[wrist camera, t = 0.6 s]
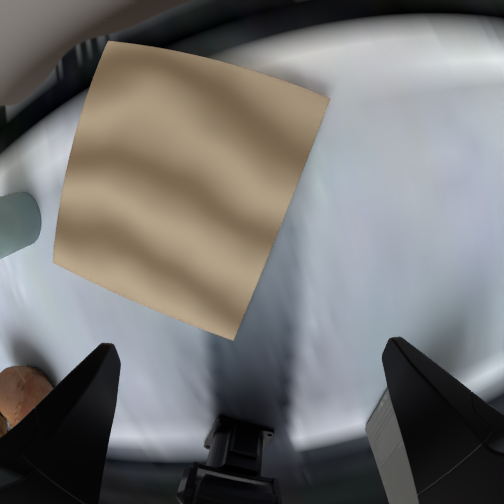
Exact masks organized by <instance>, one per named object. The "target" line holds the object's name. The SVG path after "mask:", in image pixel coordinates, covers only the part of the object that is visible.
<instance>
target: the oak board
mask: <svg viewBox="0 0 504 504" xmlns="http://www.w3.org/2000/svg"><path fill="white" fill-rule="evenodd" d="M329 101H330V98H328V97H325V96H323V95H320V94H318V93H315V92H313V91H310V90H308V89H305V88H302V87H300V86H297V85H294V84H292V83H289V82H286V81H283V80H280V79H278V78H275V77H272V76H269V75H266V74H262V73H259V72H256V71H253V70H250V69H246V68H243V67H239V66H236V65H232V64H229V63H225V62H221V61H217V60H213V59H209V58H205V57H201V56H197V55H192V54H188V53H183V52H178V51H173V50H168V49H162V48H157V47H151V46H144V45H137V44H130V43H122V42H114V41H108V42H107V45H106V47H105V49H104V52H103V54H102V57H101V59H100V62H99V64H98V67H97V69H96V72H95V75H94V77H93V80H92V83H91V86H90V88H89V91H88V94H87V97H86V100H85V103H84V106H83V110H82V113H81V116H80V119H79V123H78V126H77V130H76V133H75V137H74V141H73V145H72V149H71V153H70V157H69V161H68V166H67V170H66V175H65V180H64V185H63V190H62V195H61V201H60V207H59V213H58V220H57V227H56V235H55V243H54V253H53V263H55V264H57V265H59V266H61V267H63V268H64V269H66V270H68V271H70V272H72V273H74V274H76V275H78V276H81V277H83V278H85V279H87V280H89V281H91V282H93V283H95V284H97V285H99V286H101V287H104V288H106V289H108V290H110V291H112V292H114V293H117V294H119V295H121V296H123V297H125V298H128V299H130V300H132V301H134V302H137V303H139V304H141V305H144V306H146V307H148V308H151V309H153V310H155V311H158V312H160V313H163V314H165V315H168V316H170V317H172V318H175V319H177V320H180V321H182V322H185V323H187V324H190V325H193V326H195V327H198V328H200V329H203V330H206V331H208V332H211V333H214V334H216V335H219V336H222V337H225V338H227V339H230V340H233V341H234V338H235V336H236V333H237V331H238V329H239V326H240V324H241V321H242V319H243V317H244V314H245V312H246V309H247V307H248V305H249V302H250V300H251V297H252V295H253V292H254V290H255V288H256V285H257V283H258V280H259V278H260V275H261V273H262V271H263V268H264V266H265V263H266V261H267V258H268V256H269V253H270V251H271V248H272V246H273V243H274V241H275V238H276V236H277V234H278V231H279V229H280V226H281V224H282V221H283V219H284V216H285V214H286V211H287V209H288V206H289V204H290V201H291V199H292V196H293V194H294V191H295V188H296V186H297V183H298V181H299V178H300V176H301V173H302V171H303V168H304V166H305V163H306V160H307V158H308V155H309V153H310V150H311V148H312V145H313V143H314V140H315V137H316V135H317V132H318V130H319V127H320V124H321V122H322V119H323V117H324V114H325V111H326V109H327V106H328V104H329Z"/></svg>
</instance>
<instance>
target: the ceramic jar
mask: <svg viewBox="0 0 504 504" xmlns="http://www.w3.org/2000/svg"><path fill="white" fill-rule="evenodd" d="M40 231H41V215H40V211H39V207H38V205H37V203H36V201H35V200H34V198H33V197H32V196H31V195H30V194H29V193H27V192H23V191H21V192H16V193H12V194H8V195H4V196H0V259H1V258H4V257H6V256H8V255H10V254H12V253H14V252H16V251H18V250H20V249H22V248H25V247H27V246H29V245H31V244H33V243H34V242H35V241H36V240H37V239H38V237H39V234H40Z"/></svg>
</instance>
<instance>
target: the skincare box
mask: <svg viewBox="0 0 504 504" xmlns="http://www.w3.org/2000/svg"><path fill="white" fill-rule="evenodd" d="M365 430H366V433H367V436H368V439H369V442H370V445H371V448H372V451H373V454H374V457H375V460H376V463H377V466H378V469H379V472H380V475H381V478H382V482H383V485H384V488H385V491H386V494H387V497H388V501H389V504H419V502H418V498H417V493H416V488H415V484H414V480H413V476H412V472H411V468H410V464H409V461H408V457H407V453H406V450H405V446H404V442H403V439H402V435H401V432H400V429H399V425H398V422H397V419H396V415H395V412H394V409H393V406H392V402H391V399H390V395H389V391H388V389H387V390H386V392H385V394H384V396H383V397H382V399H381V401H380V403H379V405H378V407H377V409H376V410H375V412H374V414H373V415H372V417H371V419H370V420H369V422H368V423H367V424H366V428H365Z"/></svg>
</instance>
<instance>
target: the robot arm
mask: <svg viewBox="0 0 504 504" xmlns="http://www.w3.org/2000/svg"><path fill="white" fill-rule="evenodd" d="M382 362H383V367H384V371H385V376H386V381H387V386H388V391H389V395H390V399H391V402H392V406H393V409H394V412H395V415H396V419H397V422H398V425H399V429H400V432H401V435H402V439H403V442H404V446H405V450H406V453H407V457H408V461H409V464H410V468H411V472H412V476H413V480H414V484H415V488H416V493H417V498H418V502H419V504H504V414H502V413H501V412H499V411H498V410H496V409H495V408H493V407H492V406H490V405H489V404H488V403H486V402H485V401H484V400H482V399H481V398H480V397H478V396H477V395H476V394H475V393H473V392H471V390H469V389H468V388H467V387H466V386H464V385H463V384H462V383H460V382H459V381H458V380H457V379H455V378H454V377H453V376H452V375H450V374H449V373H448V372H446V371H445V370H444V369H442V368H441V367H440V366H439V365H437V364H436V363H435V362H433V361H432V360H431V359H430V358H428V357H427V356H426V355H424V354H423V353H422V352H420V351H419V350H418V349H416V348H415V347H414V346H413V345H411V344H410V343H409V342H407V341H406V340H405V339H403V338H402V337H392V338H390V339H389V340H388V342H387V344H386V347H385V349H384V351H383V354H382ZM120 368H121V362H120V358H119V356H118V353H117V350H116V348H115V346H114V344H112V343H101V344H100V345H99V346H98V347H97V348H96V349H94V350H93V351H92V352H91V353H90V354H89V355H88V356H87V357H86V358H85V359H84V360H83V361H82V362H81V363H80V364H79V365H78V366H76V367H75V368H74V369H73V370H72V371H71V372H70V373H69V374H68V375H67V376H66V377H65V378H64V379H63V380H62V381H61V382H60V383H59V384H58V385H57V386H56V387H55V388H54V389H53V390H52V391H51V392H50V393H48V394H47V395H46V396H45V397H44V398H43V399H42V400H41V401H40V402H39V403H38V404H37V405H36V406H35V408H33V409H32V410H31V411H30V412H29V413H28V414H27V415H26V416H25V417H24V418H23V419H22V420H21V421H20V422H19V423H18V424H16V425H15V426H14V427H13V428H12V429H11V430H9V431H8V432H7V433H6V434H5V435H3V436H2V437H1V438H0V504H98V503H99V496H100V489H101V483H102V476H103V470H104V464H105V459H106V453H107V448H108V443H109V438H110V433H111V428H112V423H113V418H114V414H115V409H116V402H117V393H118V384H119V376H120ZM273 437H274V431H273V430H270V429H266V428H262V427H259V426H255V425H251V424H248V423H244V422H241V421H238V420H234V419H231V418H228V417H225V416H218V417H217V419H216V421H215V423H214V425H213V427H212V429H211V431H210V433H209V435H208V437H207V439H206V441H205V443H204V447H205V448H206V449H209V455H208V459H207V463H206V465H204V464H200V463H199V462H196V461H194V464H193V467H186V468H185V470H184V473H183V476H182V480H181V483H180V486H179V489H178V492H177V496H176V498H177V499H178V501H179V502H180V504H282V499H281V493H280V487H279V480H278V479H277V478H266V477H261V465H262V452H263V450H264V449H265V448H266V446H267V445H268V444H269V442H270V441H271V440H272V438H273Z"/></svg>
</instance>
